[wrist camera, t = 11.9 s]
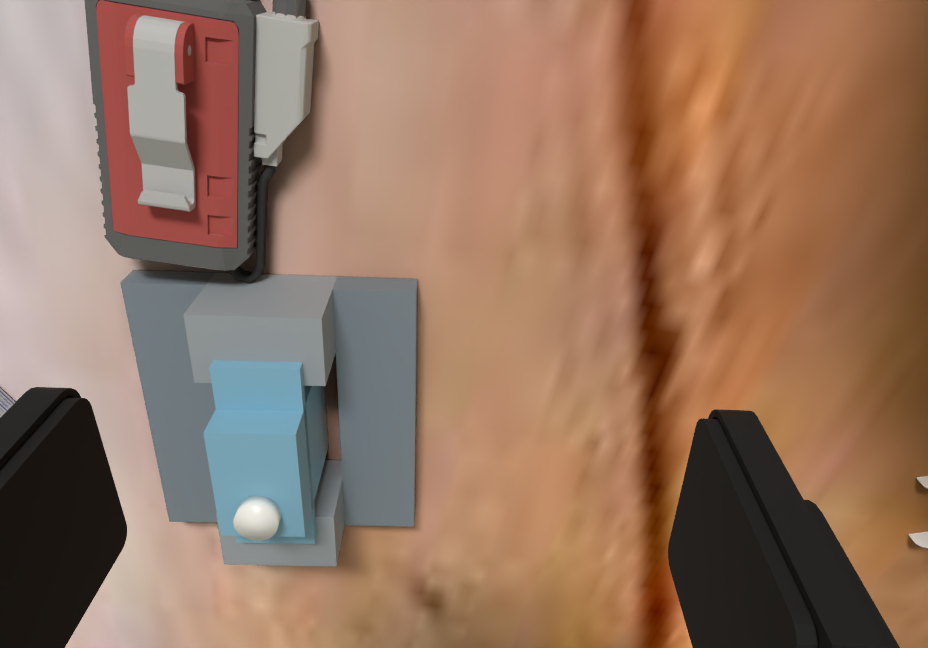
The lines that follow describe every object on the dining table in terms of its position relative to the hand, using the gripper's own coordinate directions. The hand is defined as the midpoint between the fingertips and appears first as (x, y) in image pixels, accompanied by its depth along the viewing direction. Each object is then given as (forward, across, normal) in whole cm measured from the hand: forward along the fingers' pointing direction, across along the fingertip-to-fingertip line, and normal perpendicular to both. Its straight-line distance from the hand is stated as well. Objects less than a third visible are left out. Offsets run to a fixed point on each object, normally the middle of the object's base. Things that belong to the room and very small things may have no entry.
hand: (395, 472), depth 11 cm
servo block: (+22, +9, +15) cm, 29 cm away
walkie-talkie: (+24, +10, -2) cm, 26 cm away
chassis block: (+22, +9, +15) cm, 29 cm away
